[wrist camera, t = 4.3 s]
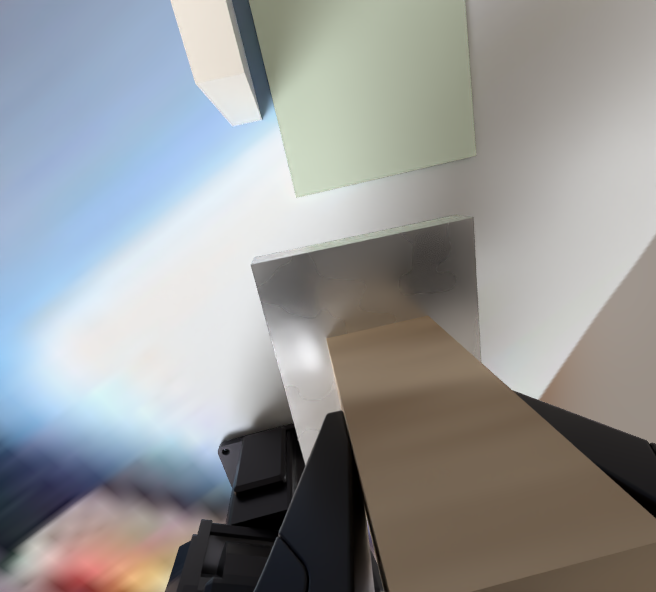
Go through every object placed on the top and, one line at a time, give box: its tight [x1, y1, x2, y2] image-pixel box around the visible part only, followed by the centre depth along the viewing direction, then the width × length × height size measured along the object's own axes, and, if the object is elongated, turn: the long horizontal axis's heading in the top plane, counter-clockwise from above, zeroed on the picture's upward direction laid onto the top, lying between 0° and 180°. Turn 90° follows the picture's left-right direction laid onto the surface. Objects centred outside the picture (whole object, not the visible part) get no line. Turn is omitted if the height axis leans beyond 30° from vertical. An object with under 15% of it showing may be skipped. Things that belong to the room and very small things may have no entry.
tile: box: [171, 0, 262, 126], centre depth 12 cm, size 6×2×7 cm, turn 12°
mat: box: [249, 0, 476, 198], centre depth 16 cm, size 14×10×1 cm
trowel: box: [251, 215, 656, 592], centre depth 7 cm, size 8×6×8 cm
